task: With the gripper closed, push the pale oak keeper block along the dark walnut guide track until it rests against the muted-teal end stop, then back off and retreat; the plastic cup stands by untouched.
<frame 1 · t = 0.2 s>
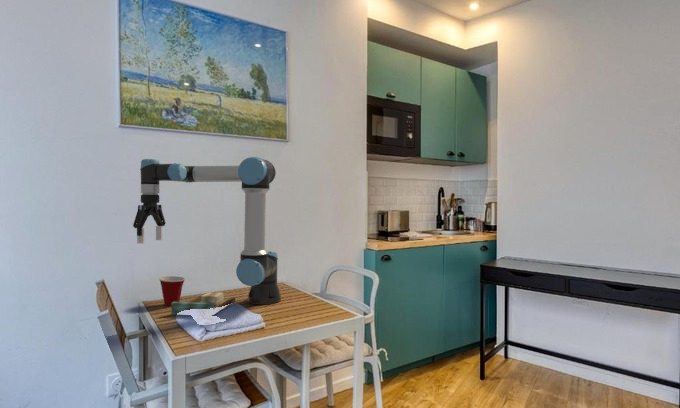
hand: (150, 241, 177), 28 cm above the table, fingers open, 13 cm apart
plastic cup: (172, 305, 176), on the table
guide track: (206, 307, 171), on the table
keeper: (212, 304, 177), on the table
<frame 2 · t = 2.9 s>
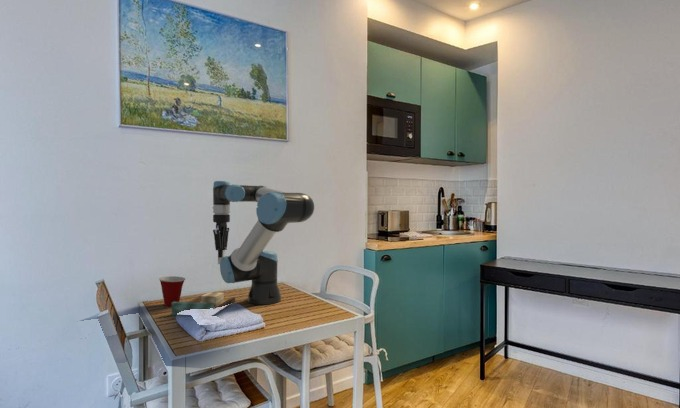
hand: (221, 263, 186), 16 cm above the table, fingers closed
nothing on the table moved.
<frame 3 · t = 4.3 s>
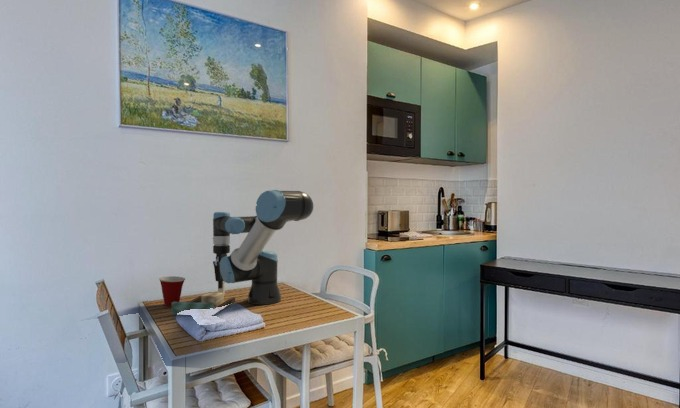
hand: (221, 294, 186), 2 cm above the table, fingers closed
nothing on the table moved.
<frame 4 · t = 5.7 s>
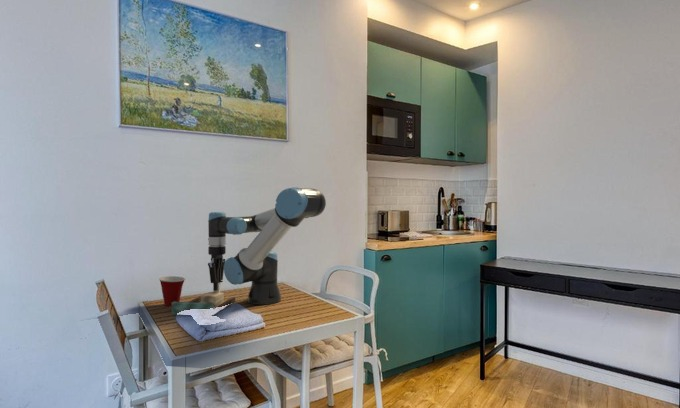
hand: (216, 297, 182), 2 cm above the table, fingers closed
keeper: (212, 304, 177), on the table, touching gripper
everything else where it was.
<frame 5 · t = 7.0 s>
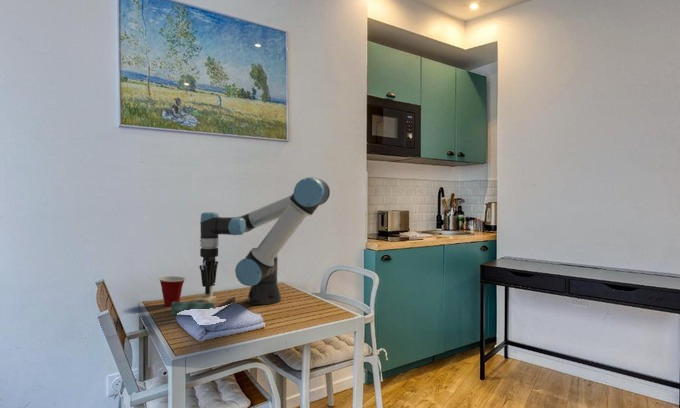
hand: (208, 300, 174), 2 cm above the table, fingers closed
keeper: (204, 308, 170), on the table, touching gripper
everything else where it was.
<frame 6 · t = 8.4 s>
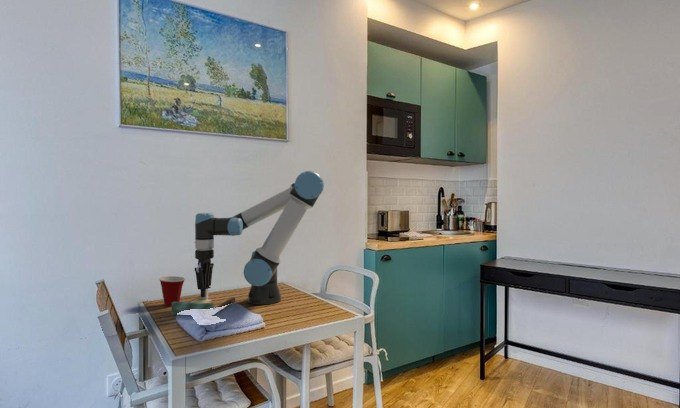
hand: (204, 304, 169), 2 cm above the table, fingers closed
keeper: (199, 312, 165), on the table
everything else where it was.
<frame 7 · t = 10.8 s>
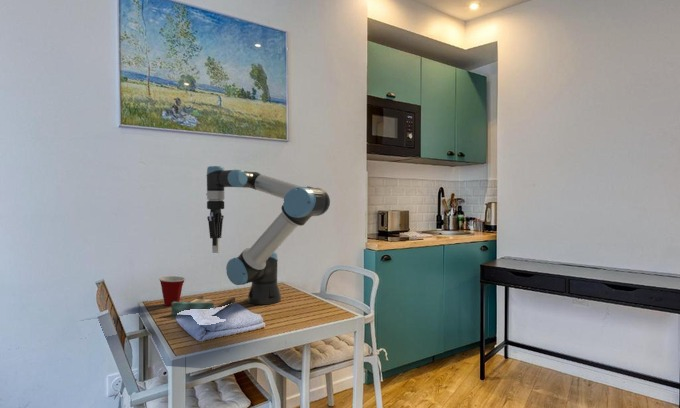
hand: (215, 252, 179), 23 cm above the table, fingers closed
nothing on the table moved.
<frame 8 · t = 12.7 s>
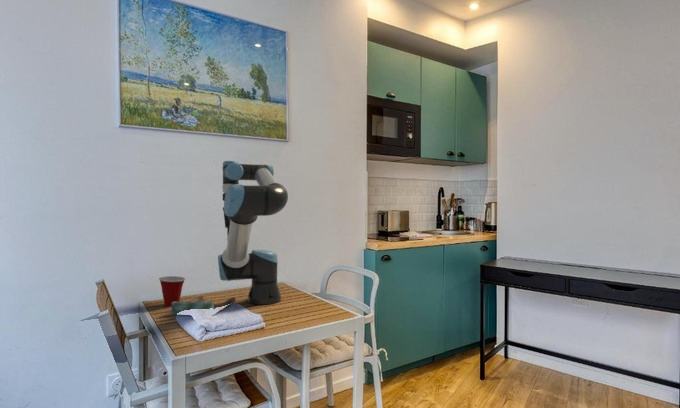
hand: (230, 241, 194), 26 cm above the table, fingers closed
nothing on the table moved.
at the end: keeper inside the target area (1.2 cm from its centre), on the table; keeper tilted 0°; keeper moved 12.3 cm from its start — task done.
